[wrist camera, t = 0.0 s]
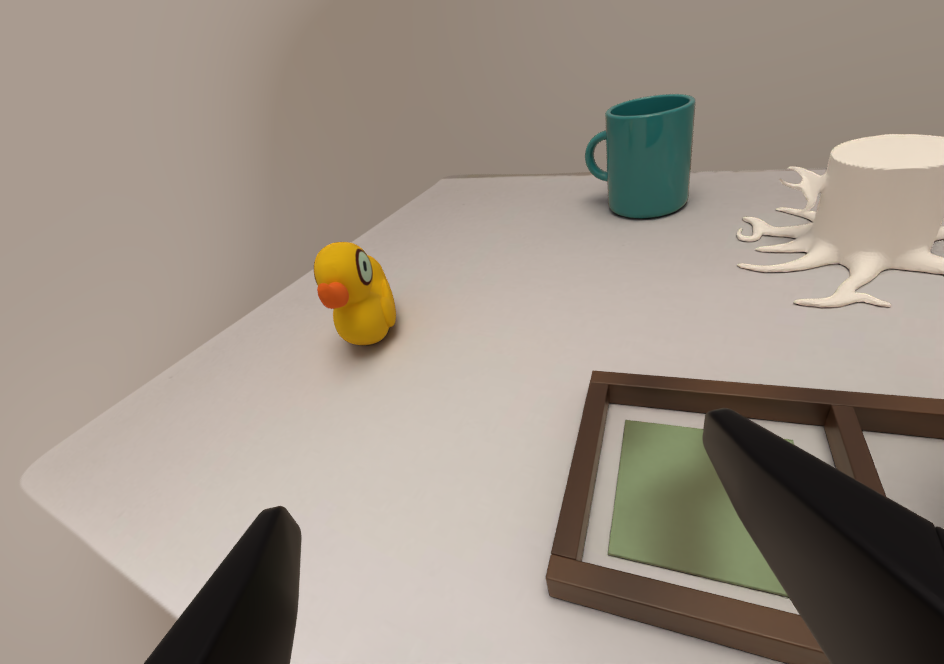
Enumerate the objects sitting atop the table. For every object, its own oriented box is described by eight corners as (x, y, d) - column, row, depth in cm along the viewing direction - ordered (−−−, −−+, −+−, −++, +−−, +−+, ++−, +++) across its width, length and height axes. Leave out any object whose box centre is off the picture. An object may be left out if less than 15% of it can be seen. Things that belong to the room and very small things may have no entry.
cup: (601, 189, 62) (598, 100, 56) (696, 191, 55) (705, 90, 49) (574, 217, 57) (566, 121, 50) (675, 222, 50) (682, 113, 44)
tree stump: (741, 203, 51) (751, 126, 46) (986, 200, 41) (1030, 104, 37) (727, 300, 37) (741, 206, 33) (1087, 329, 28) (1176, 202, 23)
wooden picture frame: (1181, 446, 21) (1209, 420, 20) (1648, 908, 11) (1751, 902, 10) (593, 389, 32) (592, 370, 31) (548, 596, 22) (545, 578, 21)
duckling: (390, 371, 39) (349, 268, 33) (331, 380, 39) (280, 280, 34) (409, 301, 48) (379, 211, 42) (361, 309, 49) (325, 221, 43)
